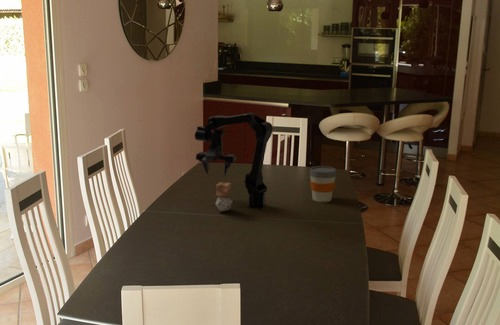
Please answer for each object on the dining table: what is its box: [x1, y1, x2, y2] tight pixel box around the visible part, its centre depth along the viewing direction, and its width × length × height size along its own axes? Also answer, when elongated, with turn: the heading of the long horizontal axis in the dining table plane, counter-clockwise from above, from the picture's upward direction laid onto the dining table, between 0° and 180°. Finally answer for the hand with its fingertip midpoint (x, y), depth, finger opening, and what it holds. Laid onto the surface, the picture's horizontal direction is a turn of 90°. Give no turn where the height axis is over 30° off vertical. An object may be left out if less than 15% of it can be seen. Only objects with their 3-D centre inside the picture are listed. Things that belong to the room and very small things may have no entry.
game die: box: [213, 195, 235, 214], centre depth 247 cm, size 9×8×10 cm
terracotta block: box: [215, 181, 232, 197], centre depth 246 cm, size 5×5×5 cm
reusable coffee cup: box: [309, 165, 337, 203], centre depth 265 cm, size 13×13×15 cm
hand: (216, 174), depth 263 cm, fingers open, 9 cm apart
